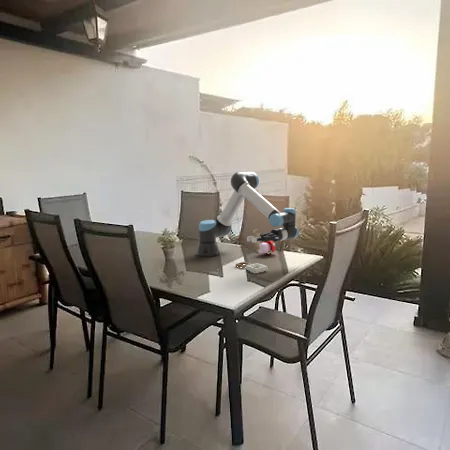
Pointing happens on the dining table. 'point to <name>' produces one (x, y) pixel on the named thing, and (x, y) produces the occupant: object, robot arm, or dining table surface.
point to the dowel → (257, 244)
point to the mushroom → (267, 247)
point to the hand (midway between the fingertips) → (249, 239)
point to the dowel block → (242, 264)
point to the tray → (251, 267)
